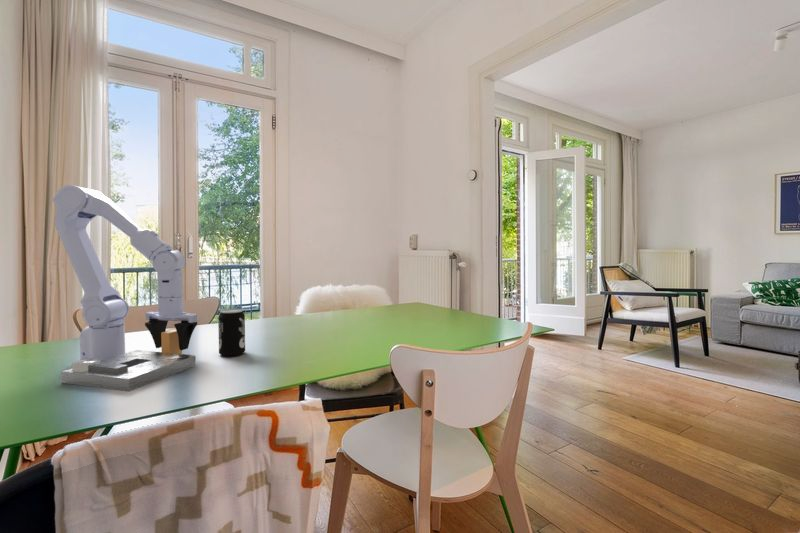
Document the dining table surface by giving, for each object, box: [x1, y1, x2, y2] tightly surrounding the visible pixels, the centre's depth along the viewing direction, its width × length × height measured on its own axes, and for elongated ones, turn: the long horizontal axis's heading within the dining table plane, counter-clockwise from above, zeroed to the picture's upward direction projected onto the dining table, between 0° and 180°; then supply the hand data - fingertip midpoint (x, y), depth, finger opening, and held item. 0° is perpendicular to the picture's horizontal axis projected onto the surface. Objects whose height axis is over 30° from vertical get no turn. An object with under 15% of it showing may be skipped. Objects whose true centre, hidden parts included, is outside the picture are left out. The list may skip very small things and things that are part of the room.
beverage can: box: [217, 308, 246, 358], centre depth 107 cm, size 7×7×12 cm
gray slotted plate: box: [60, 349, 197, 392], centre depth 91 cm, size 18×18×4 cm
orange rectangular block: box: [161, 329, 183, 354], centre depth 104 cm, size 2×4×7 cm, turn 165°
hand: (171, 348), depth 104 cm, fingers open, 7 cm apart
